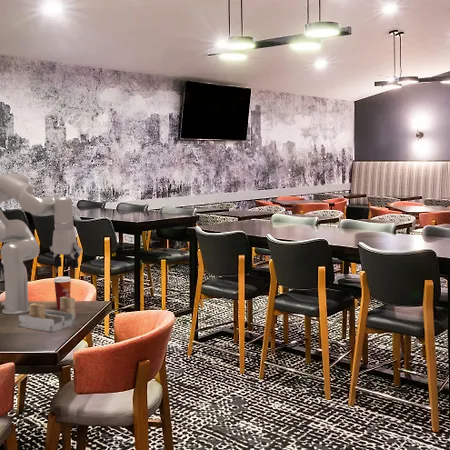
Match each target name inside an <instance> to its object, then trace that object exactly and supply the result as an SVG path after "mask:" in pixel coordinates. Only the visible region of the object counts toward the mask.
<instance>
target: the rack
mask: <svg viewBox="0 0 450 450" xmlns="http://www.w3.org/2000/svg"><path fill="white" fill-rule="evenodd" d="M28 313H29V314H28V315H27V314H26V315H25V314H18V327H22V328H27V329H30V330H31V329H33V330H38V331H44V332H50V333H54V332H57V331H60V330H62V329H66V328H68V327H71V326H75V319H74V313H68V312H61V311H59V310H53V309H46V308H45V318H46V319H45V318H39V317H33V316H30V312H28Z"/></svg>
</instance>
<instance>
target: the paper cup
mask: <svg viewBox="0 0 450 450" xmlns="http://www.w3.org/2000/svg"><path fill="white" fill-rule="evenodd" d="M53 279H54V280H53V282H54V292H55V301H56V309H57V310H58V311H59V310H60V298H61V297H71V284H72V283H71V282H72V279H71V277H70V276H56V277H54V278H53Z"/></svg>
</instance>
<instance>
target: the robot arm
mask: <svg viewBox="0 0 450 450" xmlns="http://www.w3.org/2000/svg"><path fill="white" fill-rule="evenodd" d="M33 194H34V188H33V186H32V185H31V184H29V180H28V178H27V177H26V176H25V175H24V174H22V173H3V174H0V203H5V202H8V201H10V200H11V201H12V199H14V200H16V201H17V202H18V204H19V206H20V207H21V208H22V209H23V211H26V212H27V213H29V214H31V215H34V216H50V215H53V221H54V226H53V227H54V230H53V232H52V233H53V234H52V245H51V246H49V249H50V254H52V257H53V260H54V267H55V268H60V267H62V257H61V255H65V256H66V255H70V257H71V260H70V261H71V262H70V263H71V264H70V265H71V269H77V268H78V269H79V258H80V255H81V253H82V247H80V246H79V245H78V243H77V236H76V235H77V234H76V231H75V229H74V227H75V226H74V212H73V210H74V209H73V200H72V198H71V197H70V196H59V197H58V196H41V197H37V196H34V195H33ZM0 243H4V244H3V245H2V246H1V248H0V256H1V260H2V264H3V272H4V294H5V299H4V300H3V301H2V302H0V303H1V306H4V308H3V309H2V314H5V315H24V314H27V313H29V312H30V305H29V286H28V284H29V282H28V270H27V267H26V265H25V264H24V262H25V261H30V260H33V259H36V258H37V257H38V256H39V254H40V245H39V243H38V241H37V239H36V238H35V236H34V235H33V233H32V231H31V230H30V228H29V226H28V225H27V224H26V223H25V222H24V221H22V220H20V219H8V218H7V217H6V215H5V214H4V213H3V211H2V210H1V209H0Z"/></svg>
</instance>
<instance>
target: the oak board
mask: <svg viewBox="0 0 450 450" xmlns="http://www.w3.org/2000/svg"><path fill="white" fill-rule="evenodd" d="M29 306H30V314H29V316H33V317H39V318H45V309H46V304H41V303H30V304H29ZM45 319H46V318H45Z"/></svg>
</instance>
